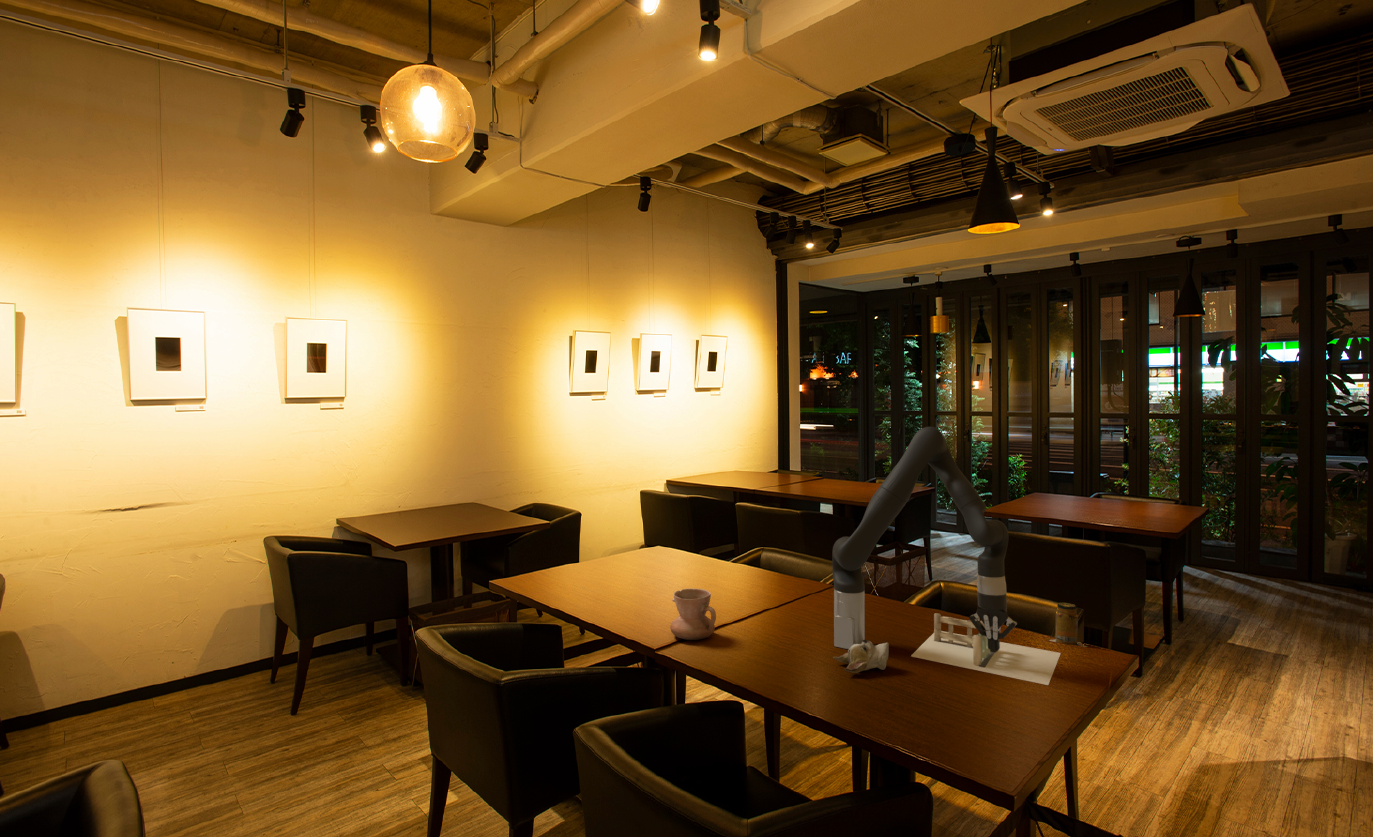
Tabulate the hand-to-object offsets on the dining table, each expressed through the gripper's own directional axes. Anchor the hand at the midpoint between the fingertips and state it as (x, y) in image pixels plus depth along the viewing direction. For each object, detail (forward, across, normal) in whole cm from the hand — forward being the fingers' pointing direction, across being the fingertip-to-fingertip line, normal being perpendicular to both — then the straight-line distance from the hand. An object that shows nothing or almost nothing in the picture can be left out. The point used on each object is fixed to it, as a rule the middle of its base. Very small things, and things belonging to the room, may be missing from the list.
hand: (993, 651), depth 189 cm
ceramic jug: (+2, +82, +37) cm, 89 cm away
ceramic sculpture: (+4, +28, +26) cm, 38 cm away
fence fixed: (+3, +13, -10) cm, 17 cm away
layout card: (+4, +4, -7) cm, 9 cm away
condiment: (+5, -12, -34) cm, 37 cm away
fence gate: (+3, +4, -4) cm, 6 cm away
